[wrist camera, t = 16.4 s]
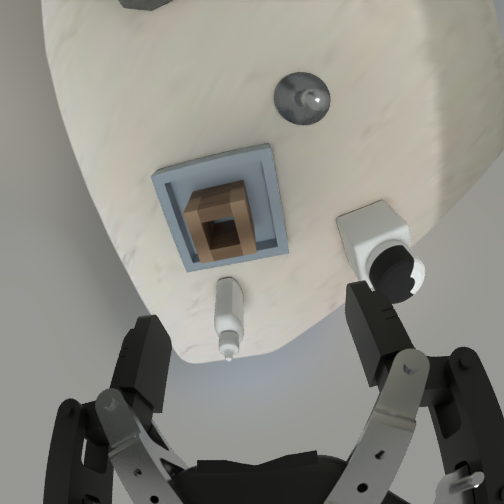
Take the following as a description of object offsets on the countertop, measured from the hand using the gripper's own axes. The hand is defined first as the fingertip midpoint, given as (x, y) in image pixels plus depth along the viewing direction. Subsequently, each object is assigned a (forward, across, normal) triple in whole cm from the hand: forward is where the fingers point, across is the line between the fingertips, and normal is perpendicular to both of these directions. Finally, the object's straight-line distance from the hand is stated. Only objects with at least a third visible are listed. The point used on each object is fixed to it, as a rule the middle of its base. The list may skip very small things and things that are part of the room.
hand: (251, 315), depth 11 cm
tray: (+22, +3, +5) cm, 23 cm away
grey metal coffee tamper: (+23, -8, -6) cm, 25 cm away
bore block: (+22, +3, +5) cm, 23 cm away
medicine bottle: (+22, -14, +12) cm, 29 cm away
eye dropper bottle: (+22, +5, +18) cm, 29 cm away
